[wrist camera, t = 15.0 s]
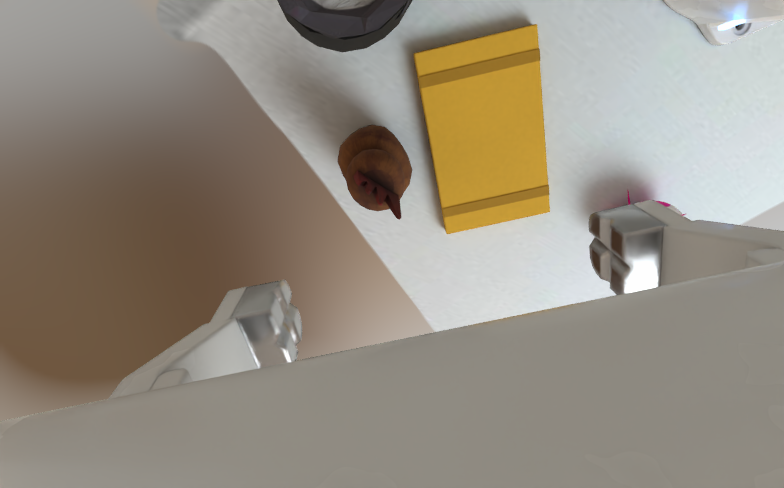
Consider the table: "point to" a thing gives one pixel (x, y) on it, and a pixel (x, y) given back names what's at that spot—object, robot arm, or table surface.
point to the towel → (486, 128)
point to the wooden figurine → (375, 168)
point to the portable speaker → (344, 21)
